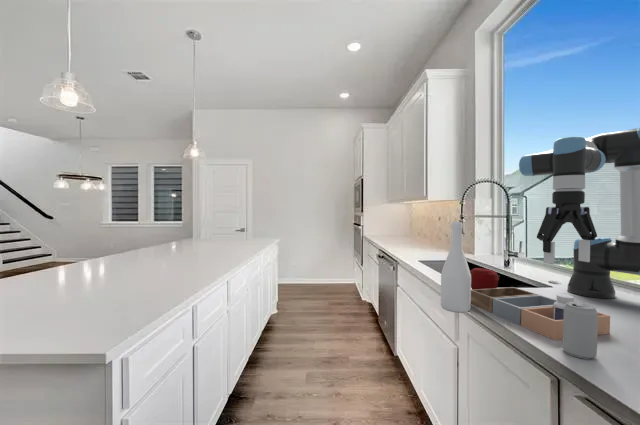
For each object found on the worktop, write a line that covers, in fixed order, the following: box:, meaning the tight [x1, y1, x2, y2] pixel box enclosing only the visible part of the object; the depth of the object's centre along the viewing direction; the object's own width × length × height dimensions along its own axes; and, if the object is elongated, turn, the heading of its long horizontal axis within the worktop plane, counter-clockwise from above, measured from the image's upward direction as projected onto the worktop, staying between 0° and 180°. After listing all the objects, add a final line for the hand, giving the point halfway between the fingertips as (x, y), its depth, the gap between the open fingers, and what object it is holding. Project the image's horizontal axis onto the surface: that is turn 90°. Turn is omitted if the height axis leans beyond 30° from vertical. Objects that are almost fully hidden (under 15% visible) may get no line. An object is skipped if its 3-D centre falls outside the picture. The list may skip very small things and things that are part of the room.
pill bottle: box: [553, 293, 575, 320], centre depth 93 cm, size 5×5×10 cm
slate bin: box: [492, 294, 558, 326], centre depth 103 cm, size 20×11×5 cm, turn 105°
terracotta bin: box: [520, 306, 611, 341], centre depth 92 cm, size 20×11×5 cm, turn 105°
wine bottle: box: [440, 221, 472, 314], centre depth 110 cm, size 10×10×30 cm
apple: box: [470, 266, 500, 290], centre depth 127 cm, size 11×11×12 cm
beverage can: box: [562, 301, 598, 360], centre depth 77 cm, size 6×6×12 cm
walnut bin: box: [471, 286, 539, 314], centre depth 114 cm, size 20×11×5 cm, turn 105°
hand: (566, 262), depth 94 cm, fingers open, 13 cm apart
